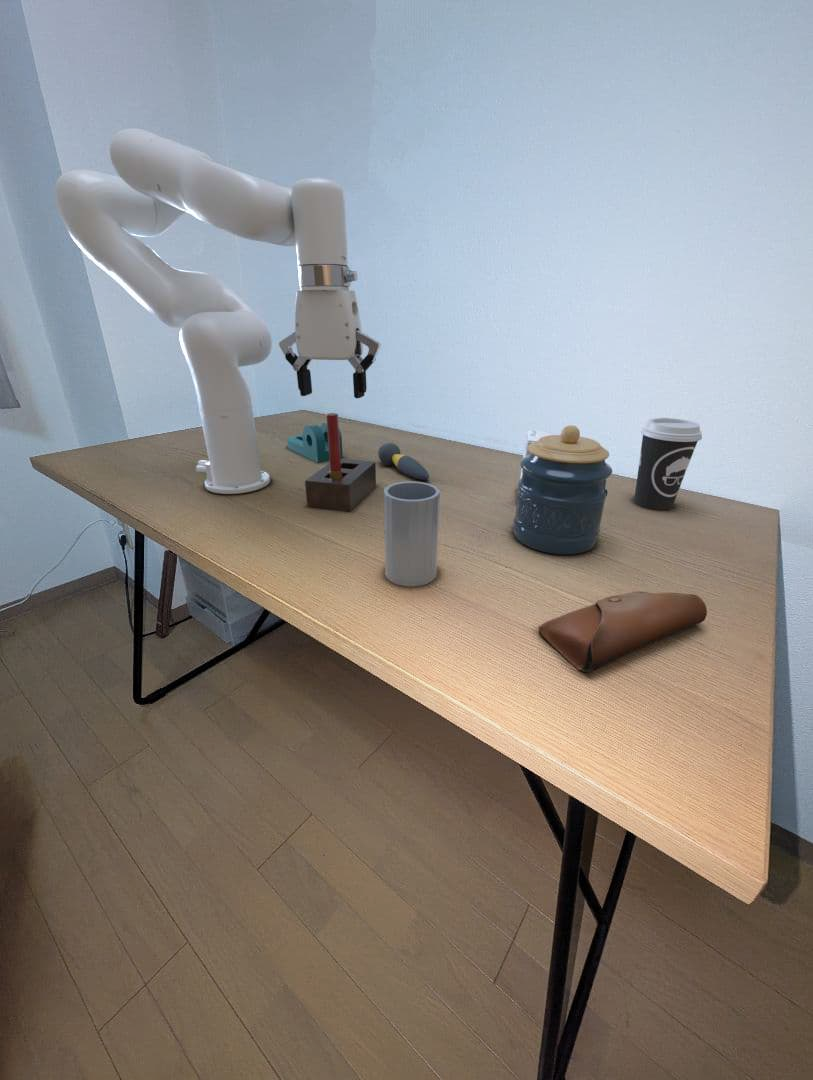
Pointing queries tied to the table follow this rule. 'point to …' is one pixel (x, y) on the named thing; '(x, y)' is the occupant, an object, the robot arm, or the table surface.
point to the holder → (341, 485)
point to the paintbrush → (402, 461)
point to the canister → (562, 493)
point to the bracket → (313, 443)
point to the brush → (334, 446)
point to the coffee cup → (664, 460)
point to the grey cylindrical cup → (411, 532)
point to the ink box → (533, 437)
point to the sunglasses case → (620, 626)
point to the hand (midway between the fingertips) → (332, 395)
